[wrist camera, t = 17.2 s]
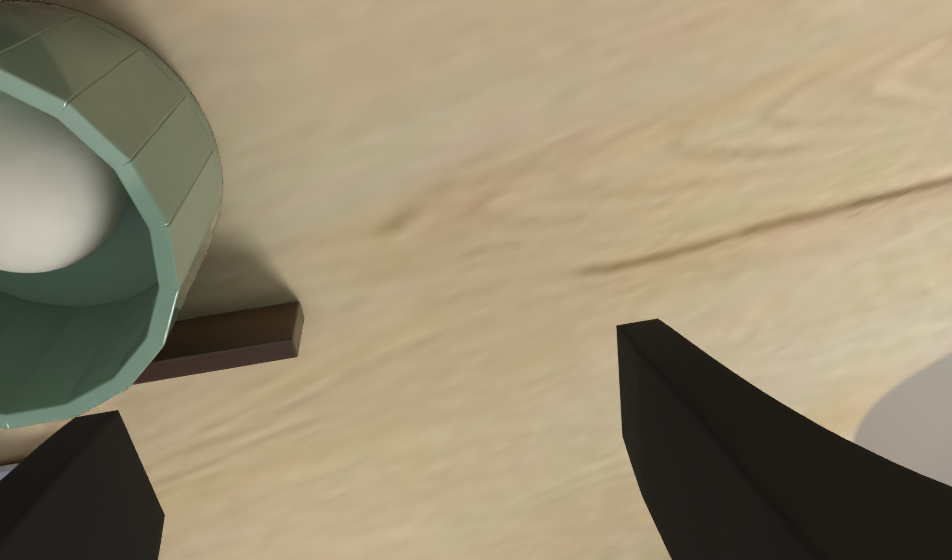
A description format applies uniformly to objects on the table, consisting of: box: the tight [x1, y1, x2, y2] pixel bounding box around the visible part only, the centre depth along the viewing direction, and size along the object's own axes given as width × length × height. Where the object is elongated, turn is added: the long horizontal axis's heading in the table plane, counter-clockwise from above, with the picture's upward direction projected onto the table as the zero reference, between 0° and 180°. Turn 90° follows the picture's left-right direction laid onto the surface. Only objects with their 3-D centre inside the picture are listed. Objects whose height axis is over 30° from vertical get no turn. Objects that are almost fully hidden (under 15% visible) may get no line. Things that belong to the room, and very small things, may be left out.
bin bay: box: [132, 302, 304, 385], centre depth 19 cm, size 11×10×2 cm
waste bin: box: [0, 1, 223, 429], centre depth 17 cm, size 8×8×5 cm
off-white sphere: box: [0, 91, 128, 273], centre depth 17 cm, size 4×4×4 cm
